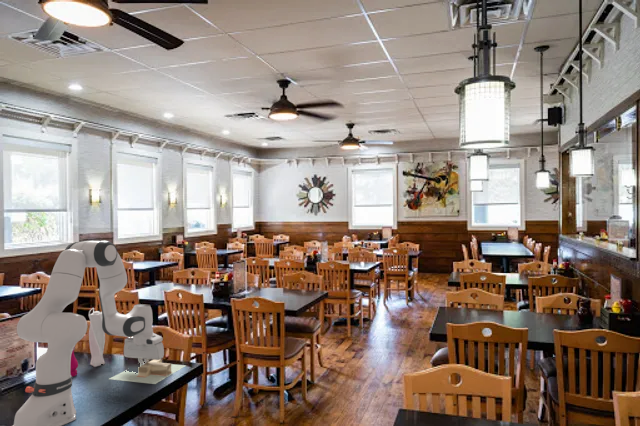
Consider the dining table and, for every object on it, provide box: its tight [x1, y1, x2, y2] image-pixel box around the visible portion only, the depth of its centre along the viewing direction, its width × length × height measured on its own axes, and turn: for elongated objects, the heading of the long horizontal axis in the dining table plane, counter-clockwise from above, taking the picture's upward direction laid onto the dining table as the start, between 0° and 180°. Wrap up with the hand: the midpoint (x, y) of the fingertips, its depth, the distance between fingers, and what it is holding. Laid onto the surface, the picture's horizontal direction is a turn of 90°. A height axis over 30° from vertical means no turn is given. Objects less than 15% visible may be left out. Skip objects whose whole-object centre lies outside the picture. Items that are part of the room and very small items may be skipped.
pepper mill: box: [70, 345, 79, 378], centre depth 209 cm, size 7×7×20 cm
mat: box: [108, 363, 187, 385], centre depth 211 cm, size 24×25×1 cm
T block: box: [138, 358, 172, 377], centre depth 210 cm, size 12×12×4 cm
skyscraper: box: [88, 307, 106, 368], centre depth 224 cm, size 8×7×28 cm
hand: (143, 367), depth 212 cm, fingers closed
